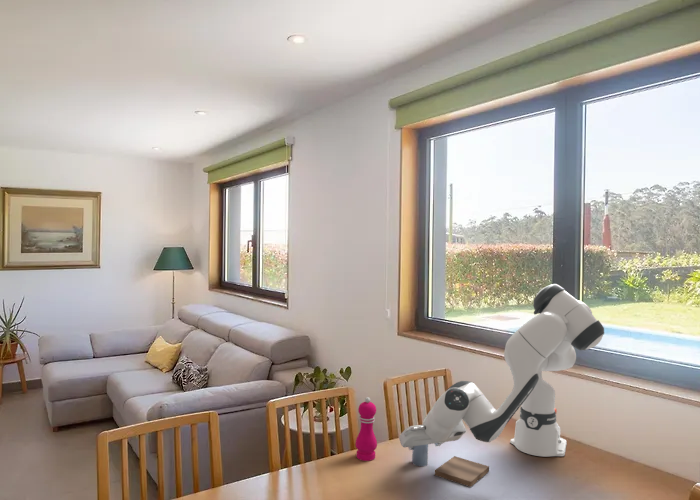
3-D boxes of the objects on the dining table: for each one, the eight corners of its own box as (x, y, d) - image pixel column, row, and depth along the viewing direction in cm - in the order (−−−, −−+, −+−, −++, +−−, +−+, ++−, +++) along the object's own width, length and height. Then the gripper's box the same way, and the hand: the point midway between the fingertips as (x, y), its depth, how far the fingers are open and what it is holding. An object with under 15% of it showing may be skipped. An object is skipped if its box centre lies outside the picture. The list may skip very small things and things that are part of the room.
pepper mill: (374, 462, 168) (376, 401, 168) (353, 460, 169) (355, 399, 169) (378, 454, 175) (380, 395, 175) (357, 451, 176) (359, 393, 176)
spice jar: (416, 458, 173) (417, 424, 173) (431, 462, 169) (432, 428, 169) (408, 463, 168) (409, 429, 168) (423, 467, 165) (424, 433, 165)
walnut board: (454, 460, 171) (454, 456, 171) (489, 471, 164) (489, 466, 164) (434, 475, 160) (434, 470, 160) (470, 487, 153) (471, 481, 153)
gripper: (410, 439, 152) (397, 459, 162) (470, 431, 159) (454, 451, 168) (404, 419, 157) (391, 440, 166) (463, 412, 163) (447, 433, 173)
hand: (423, 445), depth 167 cm, fingers open, 8 cm apart
